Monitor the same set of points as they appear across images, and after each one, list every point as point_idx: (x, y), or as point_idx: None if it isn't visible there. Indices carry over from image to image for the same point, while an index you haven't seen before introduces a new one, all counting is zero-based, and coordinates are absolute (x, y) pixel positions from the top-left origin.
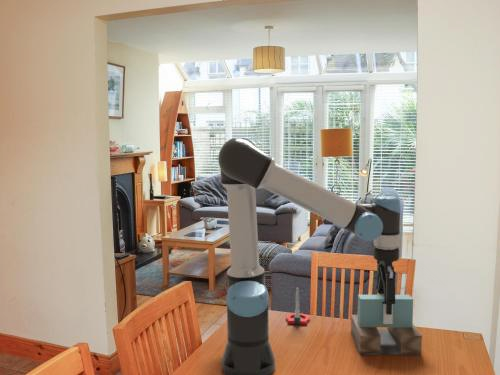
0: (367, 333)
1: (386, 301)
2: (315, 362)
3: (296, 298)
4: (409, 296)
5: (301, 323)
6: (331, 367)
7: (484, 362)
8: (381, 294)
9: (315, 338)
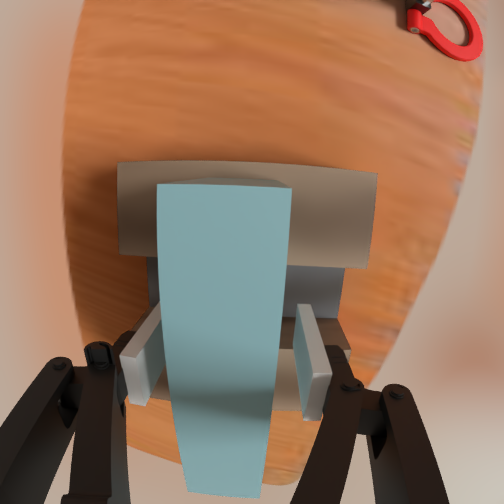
0: (136, 199)
1: (52, 365)
2: (115, 25)
3: None
4: (231, 493)
5: (407, 13)
6: (82, 69)
7: (145, 450)
8: (313, 393)
9: (293, 27)
